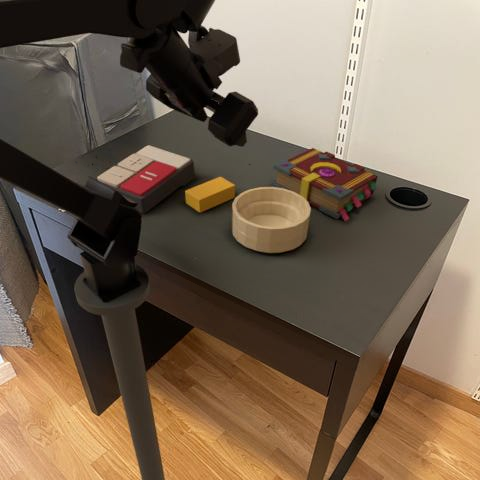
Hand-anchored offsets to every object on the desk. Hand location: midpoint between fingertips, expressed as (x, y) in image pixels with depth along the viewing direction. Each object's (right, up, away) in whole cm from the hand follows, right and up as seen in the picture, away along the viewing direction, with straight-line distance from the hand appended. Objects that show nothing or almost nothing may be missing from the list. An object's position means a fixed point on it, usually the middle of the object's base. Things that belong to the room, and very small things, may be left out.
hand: (224, 131), depth 75 cm
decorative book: (+18, -7, +13) cm, 23 cm away
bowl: (+7, -15, +3) cm, 17 cm away
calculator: (-15, -5, +13) cm, 20 cm away
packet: (-3, -8, +10) cm, 13 cm away
